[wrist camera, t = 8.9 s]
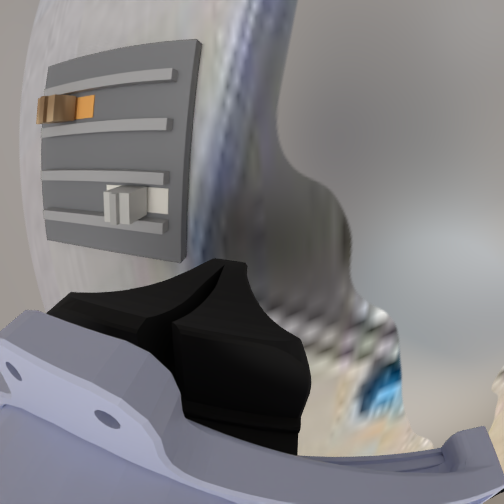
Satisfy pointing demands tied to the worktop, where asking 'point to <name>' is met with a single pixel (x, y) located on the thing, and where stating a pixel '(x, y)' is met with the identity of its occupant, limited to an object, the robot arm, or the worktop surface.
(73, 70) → the switch board
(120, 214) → the grooved grey cube
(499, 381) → the worktop surface
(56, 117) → the oak tab
